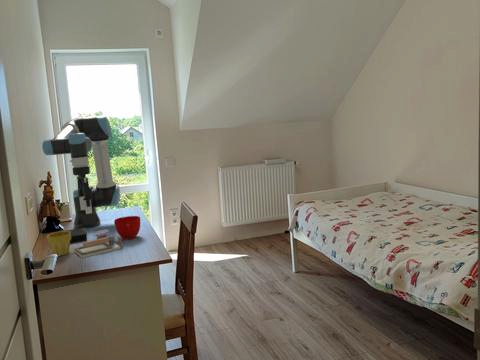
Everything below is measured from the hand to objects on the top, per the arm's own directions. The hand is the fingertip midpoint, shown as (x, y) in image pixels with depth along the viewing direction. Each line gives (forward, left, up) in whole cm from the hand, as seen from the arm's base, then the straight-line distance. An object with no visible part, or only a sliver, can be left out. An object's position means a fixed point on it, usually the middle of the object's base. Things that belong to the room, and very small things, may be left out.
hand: (86, 211), depth 212 cm
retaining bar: (+5, +3, -15) cm, 16 cm away
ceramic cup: (-3, +21, -19) cm, 28 cm away
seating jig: (+5, +2, -18) cm, 19 cm away
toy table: (-7, +8, -19) cm, 22 cm away
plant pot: (-3, -13, -19) cm, 23 cm away
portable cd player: (-29, -3, -19) cm, 34 cm away
